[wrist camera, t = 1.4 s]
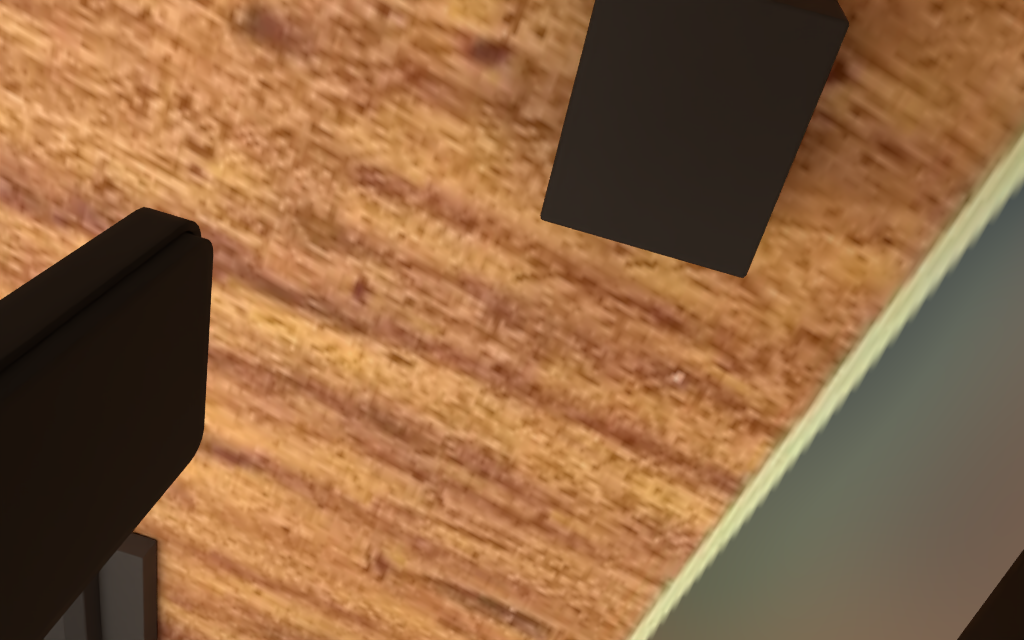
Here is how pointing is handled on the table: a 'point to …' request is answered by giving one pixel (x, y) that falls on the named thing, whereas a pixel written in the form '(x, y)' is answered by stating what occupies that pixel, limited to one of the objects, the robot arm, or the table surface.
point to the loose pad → (690, 122)
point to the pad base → (116, 598)
